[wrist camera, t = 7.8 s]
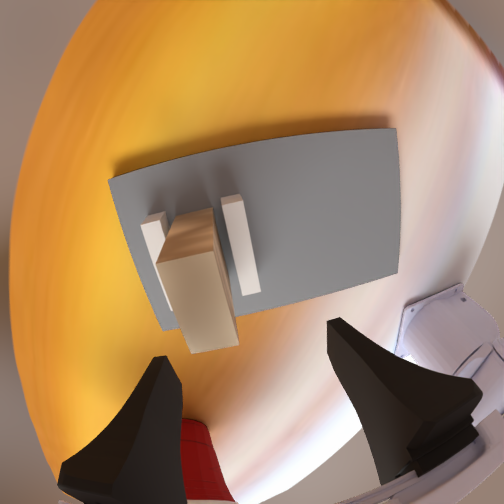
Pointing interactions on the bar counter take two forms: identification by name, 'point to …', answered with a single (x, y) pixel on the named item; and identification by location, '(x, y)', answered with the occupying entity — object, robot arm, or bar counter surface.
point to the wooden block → (198, 282)
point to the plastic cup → (201, 466)
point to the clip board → (274, 215)
